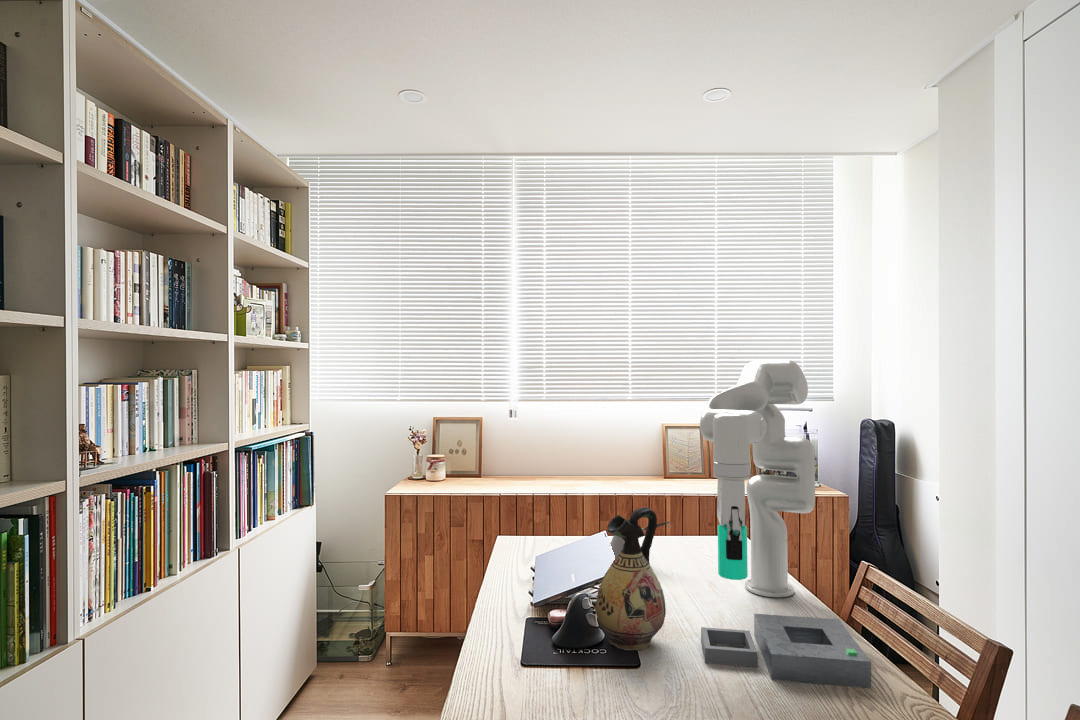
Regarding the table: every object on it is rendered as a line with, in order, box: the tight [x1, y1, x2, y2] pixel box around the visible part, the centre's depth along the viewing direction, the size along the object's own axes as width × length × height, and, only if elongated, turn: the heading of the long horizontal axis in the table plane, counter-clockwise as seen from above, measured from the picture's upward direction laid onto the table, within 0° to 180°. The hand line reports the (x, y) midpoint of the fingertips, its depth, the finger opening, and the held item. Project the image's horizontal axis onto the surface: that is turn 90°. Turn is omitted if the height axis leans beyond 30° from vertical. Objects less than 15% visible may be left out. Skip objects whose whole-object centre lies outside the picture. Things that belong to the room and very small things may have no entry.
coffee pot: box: [609, 518, 672, 559], centre depth 188 cm, size 21×12×15 cm, turn 54°
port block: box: [753, 613, 872, 689], centre depth 125 cm, size 20×18×6 cm
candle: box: [717, 523, 749, 581], centre depth 128 cm, size 6×6×12 cm
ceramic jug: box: [595, 507, 667, 651], centre depth 134 cm, size 17×15×30 cm
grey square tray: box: [700, 626, 759, 668], centre depth 128 cm, size 10×10×3 cm
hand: (732, 554), depth 128 cm, fingers closed on candle, 5 cm apart
